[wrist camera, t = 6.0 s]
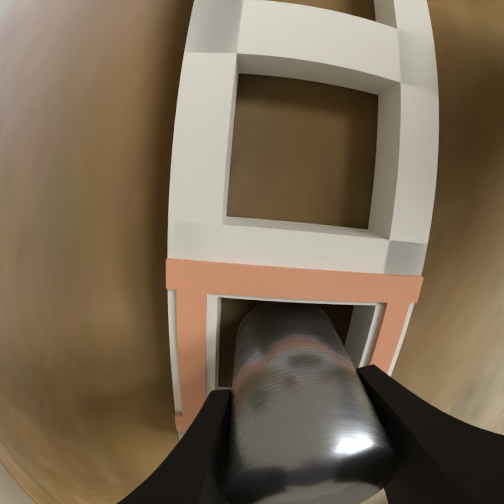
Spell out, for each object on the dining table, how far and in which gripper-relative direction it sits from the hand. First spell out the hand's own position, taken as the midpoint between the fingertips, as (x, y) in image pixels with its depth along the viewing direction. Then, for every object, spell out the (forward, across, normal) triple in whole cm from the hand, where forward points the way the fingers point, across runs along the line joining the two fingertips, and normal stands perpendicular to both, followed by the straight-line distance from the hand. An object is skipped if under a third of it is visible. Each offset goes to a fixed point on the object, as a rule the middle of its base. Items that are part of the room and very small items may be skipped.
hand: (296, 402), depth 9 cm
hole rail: (+4, -2, -8) cm, 9 cm away
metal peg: (+3, 0, 0) cm, 3 cm away
